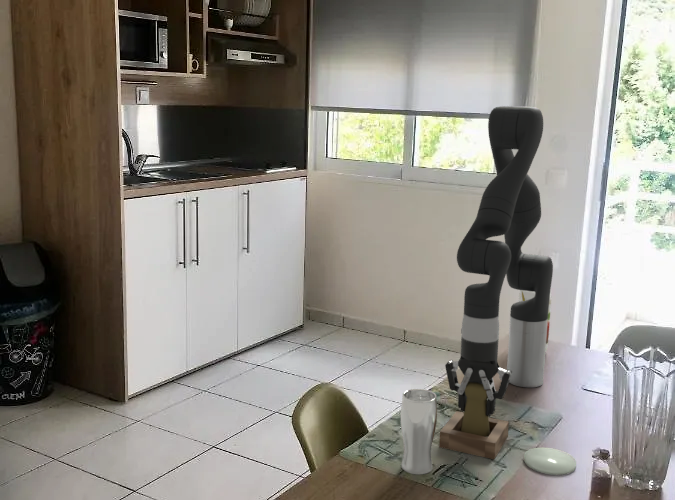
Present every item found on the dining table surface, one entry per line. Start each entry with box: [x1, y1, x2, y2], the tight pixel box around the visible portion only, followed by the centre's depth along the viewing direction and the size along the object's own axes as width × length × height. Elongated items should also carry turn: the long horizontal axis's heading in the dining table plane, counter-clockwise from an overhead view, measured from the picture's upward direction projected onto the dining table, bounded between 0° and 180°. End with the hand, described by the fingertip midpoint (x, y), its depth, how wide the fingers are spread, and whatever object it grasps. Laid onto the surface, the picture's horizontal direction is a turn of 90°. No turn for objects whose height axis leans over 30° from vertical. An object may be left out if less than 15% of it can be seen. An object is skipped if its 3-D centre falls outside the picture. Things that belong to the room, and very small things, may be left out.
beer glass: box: [400, 388, 438, 475], centre depth 144 cm, size 7×7×15 cm
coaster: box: [523, 447, 577, 476], centre depth 148 cm, size 10×10×1 cm
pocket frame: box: [438, 410, 510, 460], centre depth 156 cm, size 12×12×4 cm
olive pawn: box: [461, 382, 490, 437], centre depth 155 cm, size 6×6×11 cm
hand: (476, 412), depth 156 cm, fingers closed on olive pawn, 5 cm apart
